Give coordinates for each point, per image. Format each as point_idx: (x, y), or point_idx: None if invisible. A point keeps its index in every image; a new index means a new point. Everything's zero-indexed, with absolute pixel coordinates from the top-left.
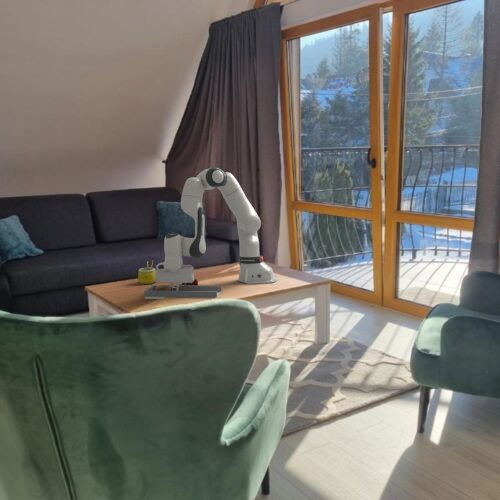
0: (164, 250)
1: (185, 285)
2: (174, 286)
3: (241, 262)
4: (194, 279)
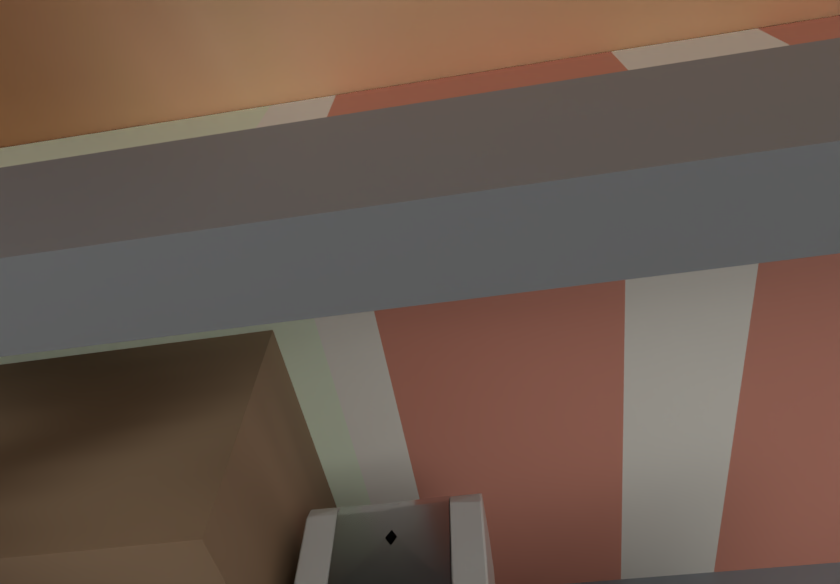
0: None
1: (690, 171)
2: (160, 326)
3: None
4: None
